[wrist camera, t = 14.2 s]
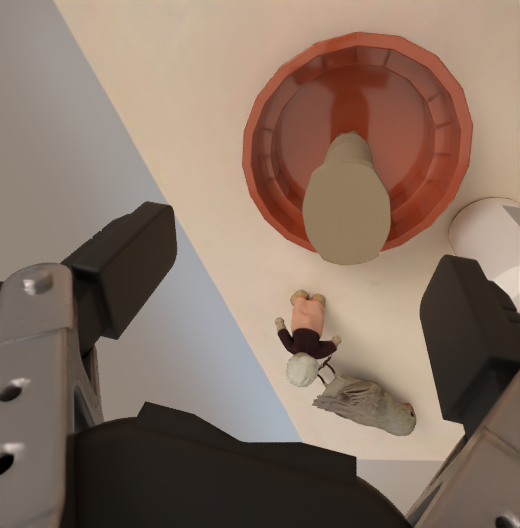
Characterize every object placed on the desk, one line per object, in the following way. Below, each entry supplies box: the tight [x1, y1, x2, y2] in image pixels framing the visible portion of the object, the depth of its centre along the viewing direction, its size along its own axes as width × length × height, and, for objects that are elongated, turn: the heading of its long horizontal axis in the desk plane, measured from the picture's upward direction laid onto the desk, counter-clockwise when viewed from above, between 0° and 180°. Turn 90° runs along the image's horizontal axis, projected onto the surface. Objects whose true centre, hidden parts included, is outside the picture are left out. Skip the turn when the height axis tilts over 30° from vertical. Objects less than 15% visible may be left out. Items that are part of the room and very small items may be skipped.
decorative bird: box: [312, 354, 416, 436], centre depth 47 cm, size 5×16×8 cm, turn 66°
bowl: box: [242, 32, 473, 253], centre depth 30 cm, size 18×18×6 cm
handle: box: [302, 131, 391, 265], centre depth 25 cm, size 5×6×15 cm
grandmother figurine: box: [275, 290, 341, 387], centre depth 39 cm, size 8×4×13 cm, turn 92°
